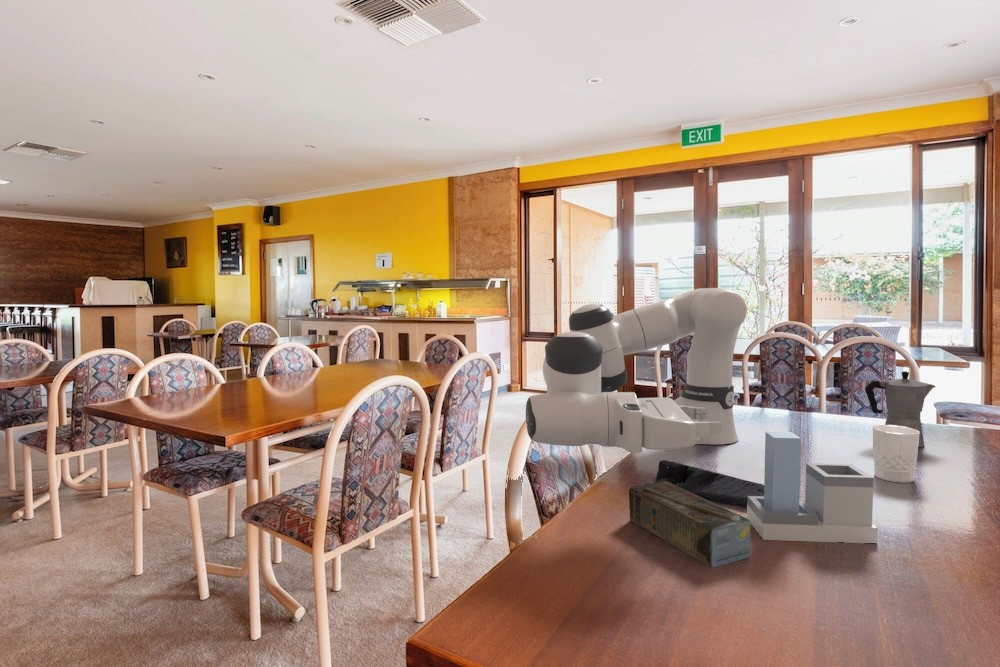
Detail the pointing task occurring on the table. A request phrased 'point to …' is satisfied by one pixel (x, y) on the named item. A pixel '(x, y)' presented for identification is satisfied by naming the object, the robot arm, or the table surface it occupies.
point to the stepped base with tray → (822, 508)
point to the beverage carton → (690, 523)
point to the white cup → (895, 452)
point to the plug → (782, 472)
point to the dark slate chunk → (708, 483)
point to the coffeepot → (901, 401)
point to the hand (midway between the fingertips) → (712, 420)
